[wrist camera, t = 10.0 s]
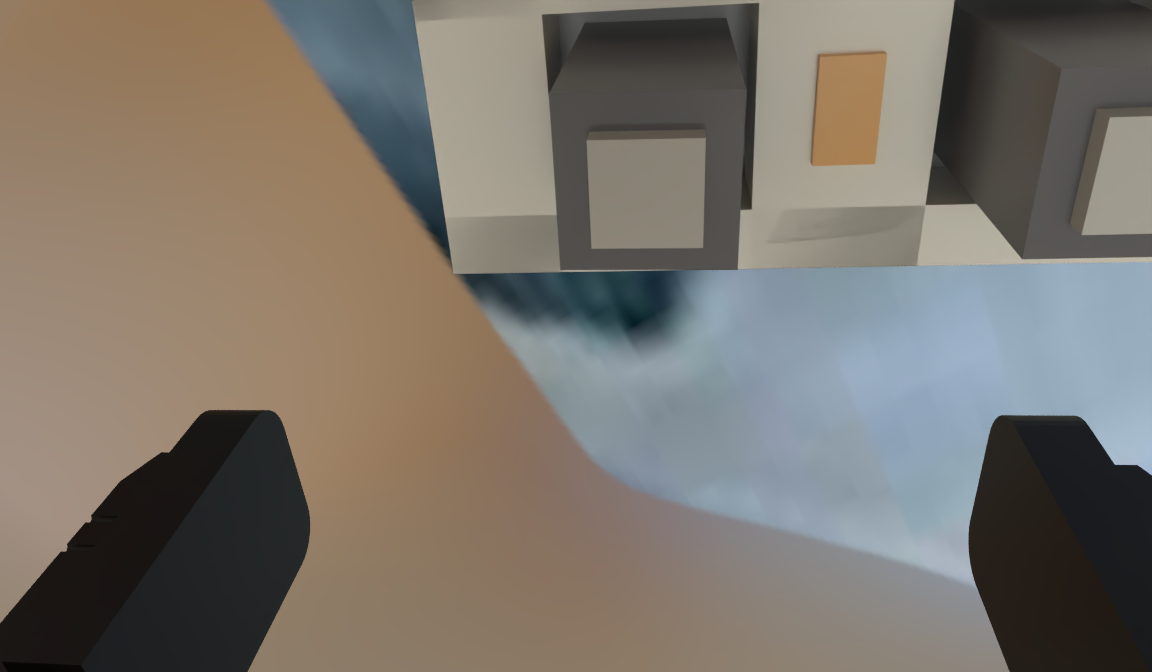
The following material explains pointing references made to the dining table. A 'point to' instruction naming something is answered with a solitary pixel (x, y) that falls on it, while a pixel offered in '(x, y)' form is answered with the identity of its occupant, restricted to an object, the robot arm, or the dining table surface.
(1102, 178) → the twin plug
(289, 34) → the dining table surface
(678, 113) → the plug
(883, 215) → the strip
